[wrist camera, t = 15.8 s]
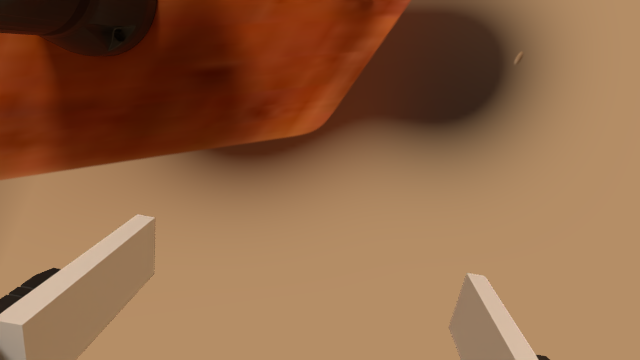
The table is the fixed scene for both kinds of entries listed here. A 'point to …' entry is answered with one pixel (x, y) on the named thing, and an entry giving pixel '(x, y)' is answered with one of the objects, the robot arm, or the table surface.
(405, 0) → the table surface
